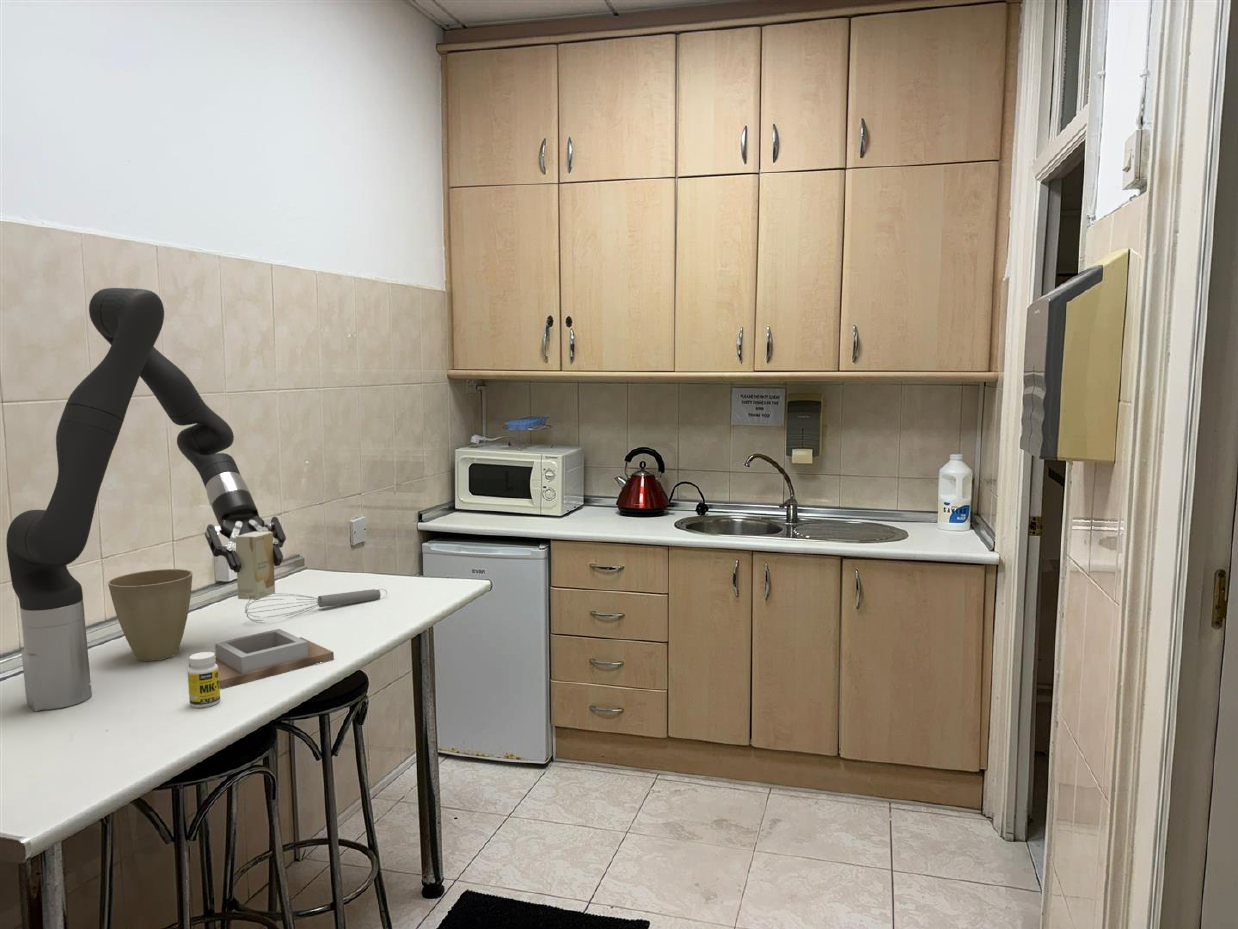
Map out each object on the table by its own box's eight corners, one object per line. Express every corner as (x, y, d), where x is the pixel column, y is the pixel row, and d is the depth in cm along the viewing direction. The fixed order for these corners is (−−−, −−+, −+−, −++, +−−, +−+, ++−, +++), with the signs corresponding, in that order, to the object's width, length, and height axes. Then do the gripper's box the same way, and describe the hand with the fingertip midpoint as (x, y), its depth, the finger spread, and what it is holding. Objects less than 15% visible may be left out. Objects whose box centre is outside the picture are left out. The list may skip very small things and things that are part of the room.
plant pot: (214, 649, 186) (208, 572, 184) (146, 672, 173) (139, 589, 171) (166, 640, 193) (160, 565, 191) (98, 661, 180) (90, 581, 178)
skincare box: (257, 601, 173) (254, 537, 172) (237, 600, 174) (233, 536, 173) (276, 592, 179) (273, 530, 178) (256, 592, 180) (253, 530, 179)
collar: (242, 673, 166) (241, 657, 166) (216, 658, 175) (215, 643, 175) (308, 657, 175) (307, 641, 175) (280, 643, 184) (279, 628, 184)
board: (218, 689, 163) (217, 681, 163) (189, 671, 173) (189, 663, 173) (333, 659, 178) (333, 652, 178) (301, 644, 188) (301, 637, 188)
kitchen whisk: (392, 600, 222) (391, 574, 221) (250, 630, 200) (248, 601, 200) (381, 595, 227) (379, 570, 226) (241, 624, 205) (239, 596, 204)
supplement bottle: (200, 710, 153) (197, 661, 152) (184, 705, 156) (180, 657, 155) (226, 701, 157) (223, 653, 156) (209, 696, 160) (206, 649, 159)
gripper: (198, 491, 175) (226, 560, 168) (271, 484, 185) (300, 549, 178) (189, 516, 179) (216, 584, 172) (261, 508, 189) (289, 572, 182)
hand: (259, 566), depth 175 cm, fingers closed on skincare box, 7 cm apart
